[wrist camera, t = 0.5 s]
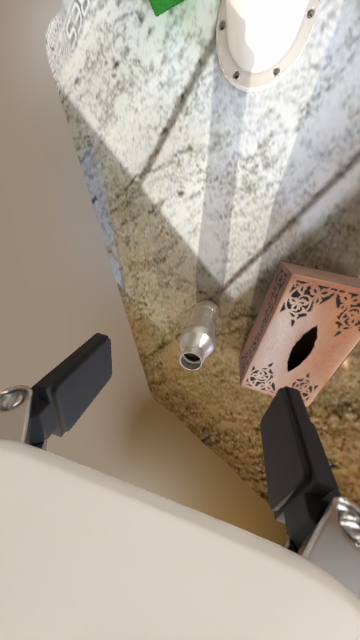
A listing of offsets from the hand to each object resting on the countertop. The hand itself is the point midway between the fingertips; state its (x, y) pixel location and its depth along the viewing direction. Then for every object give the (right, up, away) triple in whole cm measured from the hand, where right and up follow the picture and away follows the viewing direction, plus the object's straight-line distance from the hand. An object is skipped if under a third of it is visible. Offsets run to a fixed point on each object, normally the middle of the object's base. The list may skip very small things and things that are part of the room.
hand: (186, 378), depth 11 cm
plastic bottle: (+6, +6, +37) cm, 38 cm away
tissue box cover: (+25, +2, +34) cm, 42 cm away
